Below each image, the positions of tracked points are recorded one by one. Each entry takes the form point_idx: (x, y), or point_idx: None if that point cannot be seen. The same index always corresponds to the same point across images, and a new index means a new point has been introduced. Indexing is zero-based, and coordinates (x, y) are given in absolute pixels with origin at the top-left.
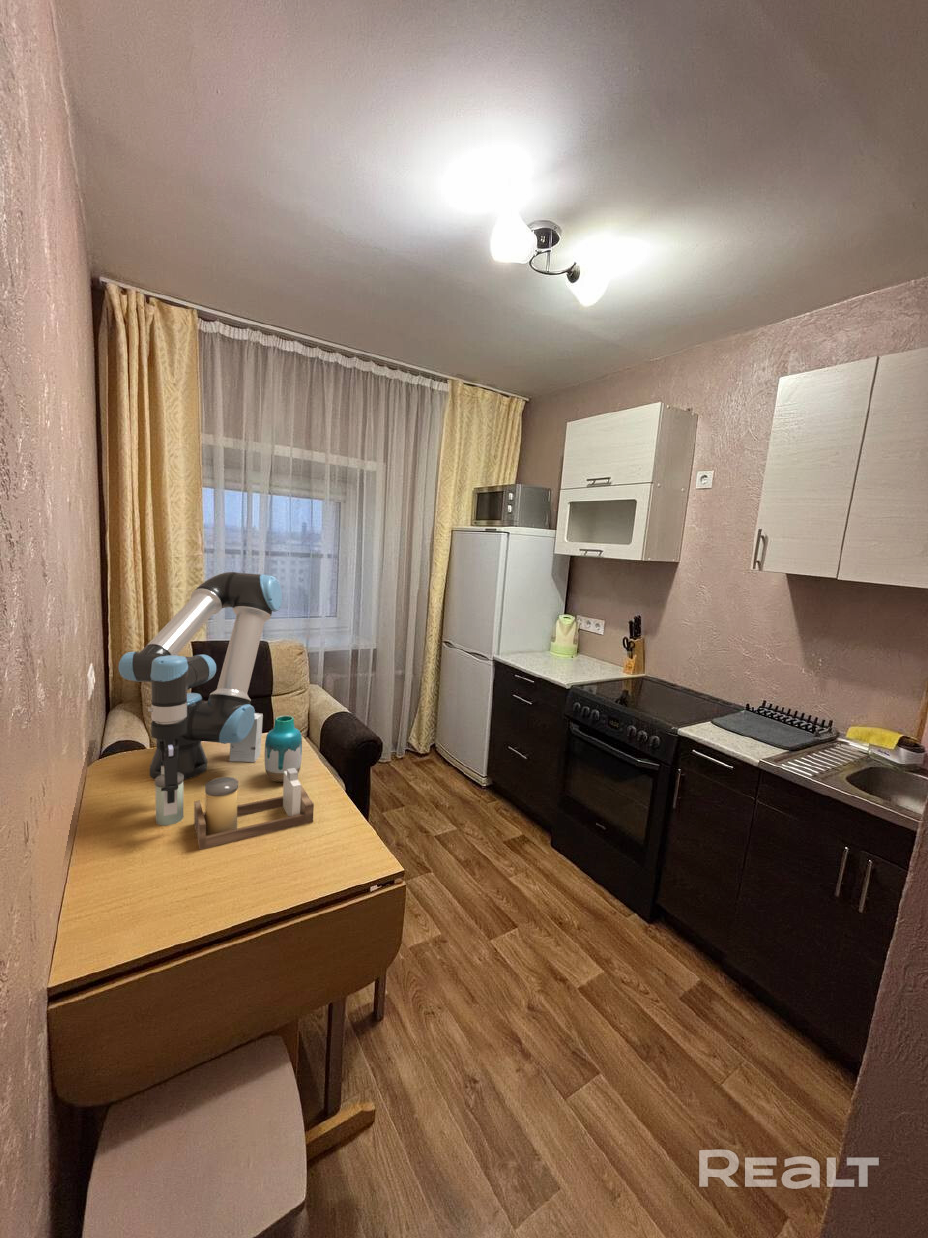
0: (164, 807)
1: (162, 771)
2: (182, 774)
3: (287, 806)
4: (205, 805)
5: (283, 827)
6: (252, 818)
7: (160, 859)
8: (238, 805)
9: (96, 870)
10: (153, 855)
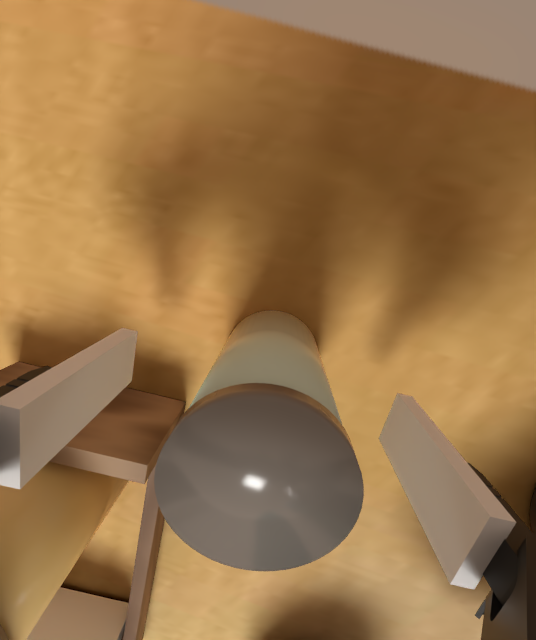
0: (94, 345)
1: (461, 488)
2: (256, 568)
3: (62, 624)
4: (14, 488)
5: None
6: (119, 526)
7: (21, 252)
8: (150, 542)
9: (55, 43)
10: (57, 241)
